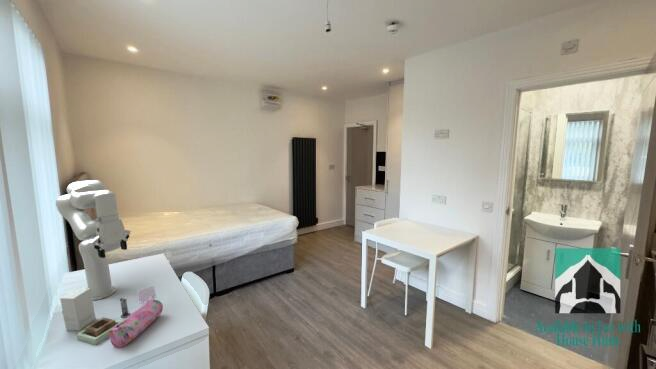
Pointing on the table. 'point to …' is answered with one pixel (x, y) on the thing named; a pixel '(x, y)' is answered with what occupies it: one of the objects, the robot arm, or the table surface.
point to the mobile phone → (146, 295)
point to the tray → (95, 340)
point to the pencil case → (135, 323)
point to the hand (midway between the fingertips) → (113, 253)
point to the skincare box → (78, 308)
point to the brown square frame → (99, 327)
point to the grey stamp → (124, 308)
